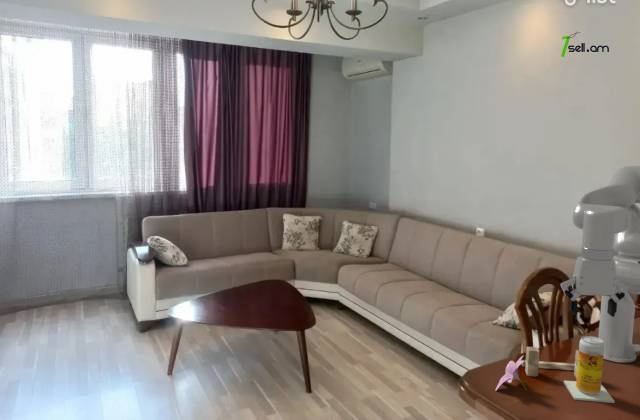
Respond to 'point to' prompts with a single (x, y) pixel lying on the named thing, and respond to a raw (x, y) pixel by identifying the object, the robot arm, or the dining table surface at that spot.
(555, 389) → the dining table surface
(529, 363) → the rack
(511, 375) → the lily
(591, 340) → the beer can
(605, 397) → the mat
